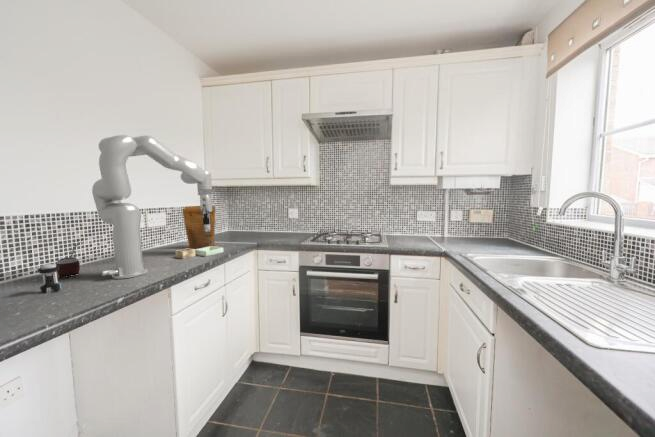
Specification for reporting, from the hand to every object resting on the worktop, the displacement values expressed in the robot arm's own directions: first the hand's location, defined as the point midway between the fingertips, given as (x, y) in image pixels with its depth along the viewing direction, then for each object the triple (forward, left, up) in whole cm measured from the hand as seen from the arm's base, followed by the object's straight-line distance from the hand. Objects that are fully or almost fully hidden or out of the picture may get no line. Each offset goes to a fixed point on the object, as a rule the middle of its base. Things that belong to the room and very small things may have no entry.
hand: (207, 223), depth 149 cm
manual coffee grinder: (-55, +18, -18) cm, 61 cm away
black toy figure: (-66, 0, -18) cm, 69 cm away
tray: (0, 0, -18) cm, 18 cm away
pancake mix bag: (+9, +19, -18) cm, 28 cm away
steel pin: (0, 0, -5) cm, 5 cm away
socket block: (-11, +5, -18) cm, 22 cm away
